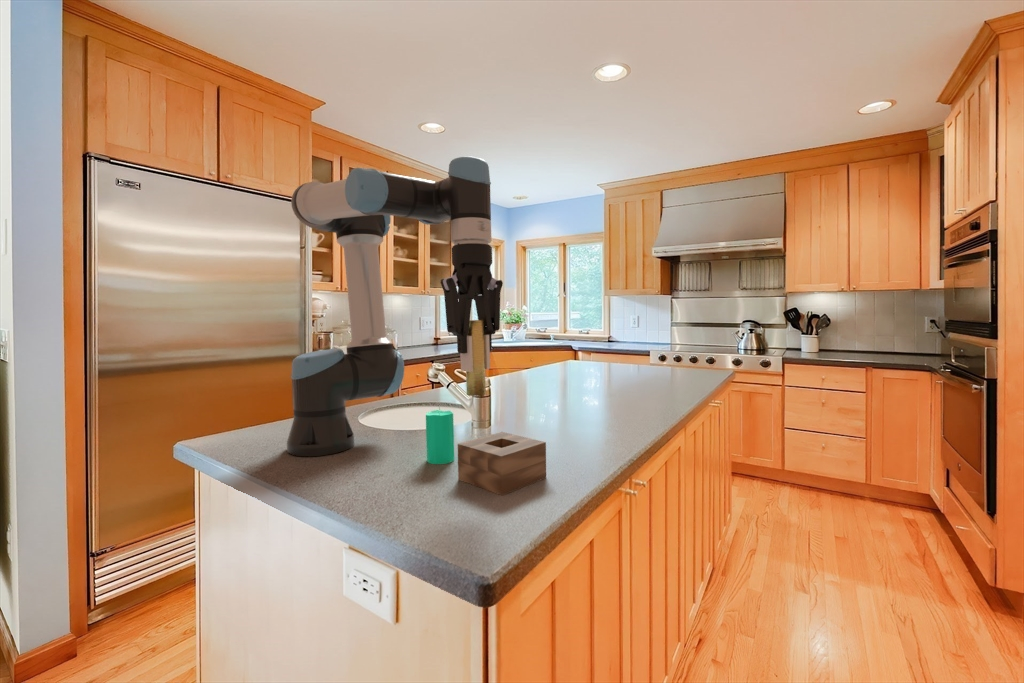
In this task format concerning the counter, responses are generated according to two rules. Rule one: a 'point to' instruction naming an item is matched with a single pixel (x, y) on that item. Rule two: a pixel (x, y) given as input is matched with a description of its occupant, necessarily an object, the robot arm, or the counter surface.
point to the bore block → (502, 462)
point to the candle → (440, 437)
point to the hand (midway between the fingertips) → (475, 369)
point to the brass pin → (476, 360)
